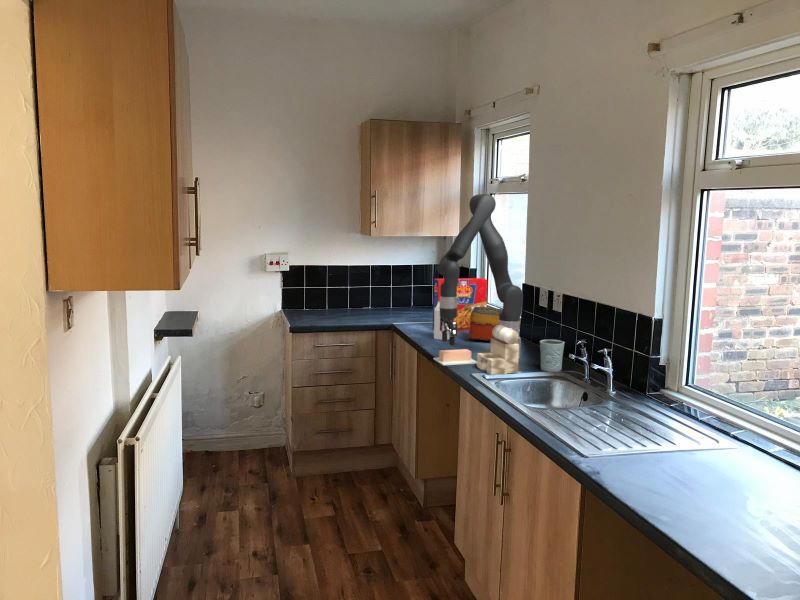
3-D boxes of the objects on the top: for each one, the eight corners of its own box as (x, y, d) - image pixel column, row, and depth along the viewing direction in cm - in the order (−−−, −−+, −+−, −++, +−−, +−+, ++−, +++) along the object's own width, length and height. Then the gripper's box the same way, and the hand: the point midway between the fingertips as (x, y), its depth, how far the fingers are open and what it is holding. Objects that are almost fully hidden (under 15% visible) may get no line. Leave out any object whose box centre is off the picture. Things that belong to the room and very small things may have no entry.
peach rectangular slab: (466, 357, 300) (466, 349, 299) (471, 360, 295) (471, 351, 295) (439, 359, 296) (439, 350, 296) (443, 362, 291) (443, 352, 291)
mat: (466, 357, 304) (466, 355, 304) (477, 363, 293) (477, 362, 292) (433, 359, 299) (433, 357, 299) (443, 365, 288) (443, 364, 288)
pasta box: (437, 331, 364) (438, 280, 360) (432, 329, 371) (433, 278, 367) (485, 330, 371) (487, 279, 367) (480, 327, 379) (481, 278, 375)
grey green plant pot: (545, 372, 278) (547, 344, 276) (534, 367, 288) (535, 339, 286) (567, 371, 281) (569, 343, 279) (555, 366, 291) (556, 338, 289)
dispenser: (502, 365, 290) (504, 324, 287) (517, 373, 276) (519, 330, 274) (476, 367, 286) (478, 325, 283) (491, 375, 273) (492, 331, 270)
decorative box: (473, 336, 357) (471, 305, 355) (514, 335, 351) (513, 304, 348) (465, 345, 338) (462, 313, 336) (509, 345, 331) (507, 312, 329)
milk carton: (440, 336, 350) (441, 300, 347) (452, 338, 346) (453, 301, 344) (433, 339, 344) (434, 302, 341) (446, 340, 340) (447, 303, 337)
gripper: (462, 308, 285) (462, 346, 288) (450, 303, 299) (450, 339, 301) (446, 309, 283) (446, 347, 286) (434, 304, 297) (434, 340, 299)
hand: (448, 343), depth 293 cm, fingers open, 8 cm apart
